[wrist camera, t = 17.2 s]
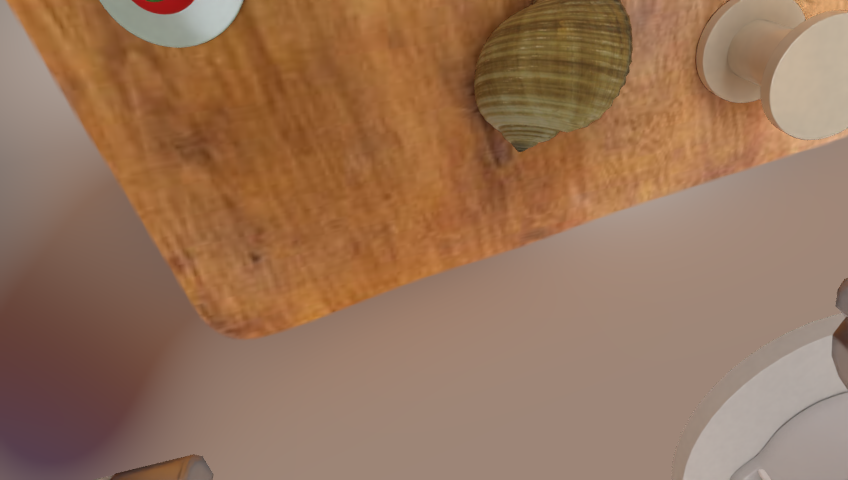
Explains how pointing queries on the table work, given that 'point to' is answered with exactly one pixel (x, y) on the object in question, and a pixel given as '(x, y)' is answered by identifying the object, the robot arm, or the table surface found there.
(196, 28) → the plate
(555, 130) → the seashell
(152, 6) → the strawberry
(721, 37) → the stand
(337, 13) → the table surface
